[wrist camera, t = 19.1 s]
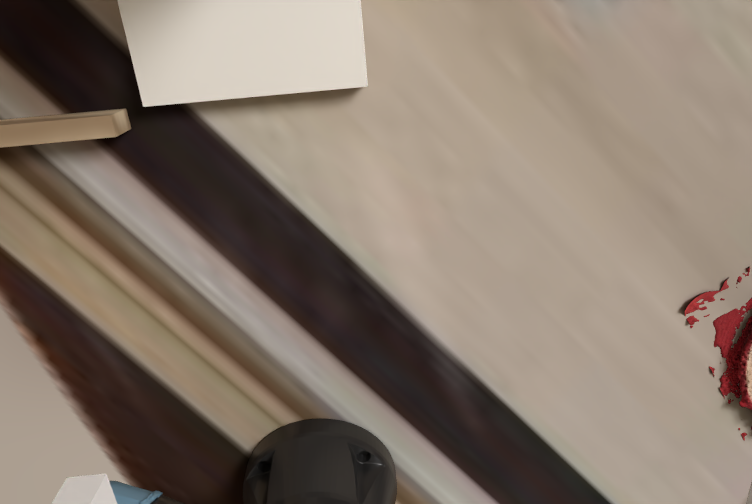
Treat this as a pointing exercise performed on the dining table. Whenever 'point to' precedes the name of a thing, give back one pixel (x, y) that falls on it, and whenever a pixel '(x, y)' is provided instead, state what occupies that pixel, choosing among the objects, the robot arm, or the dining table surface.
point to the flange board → (242, 48)
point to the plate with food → (746, 356)
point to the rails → (63, 127)
